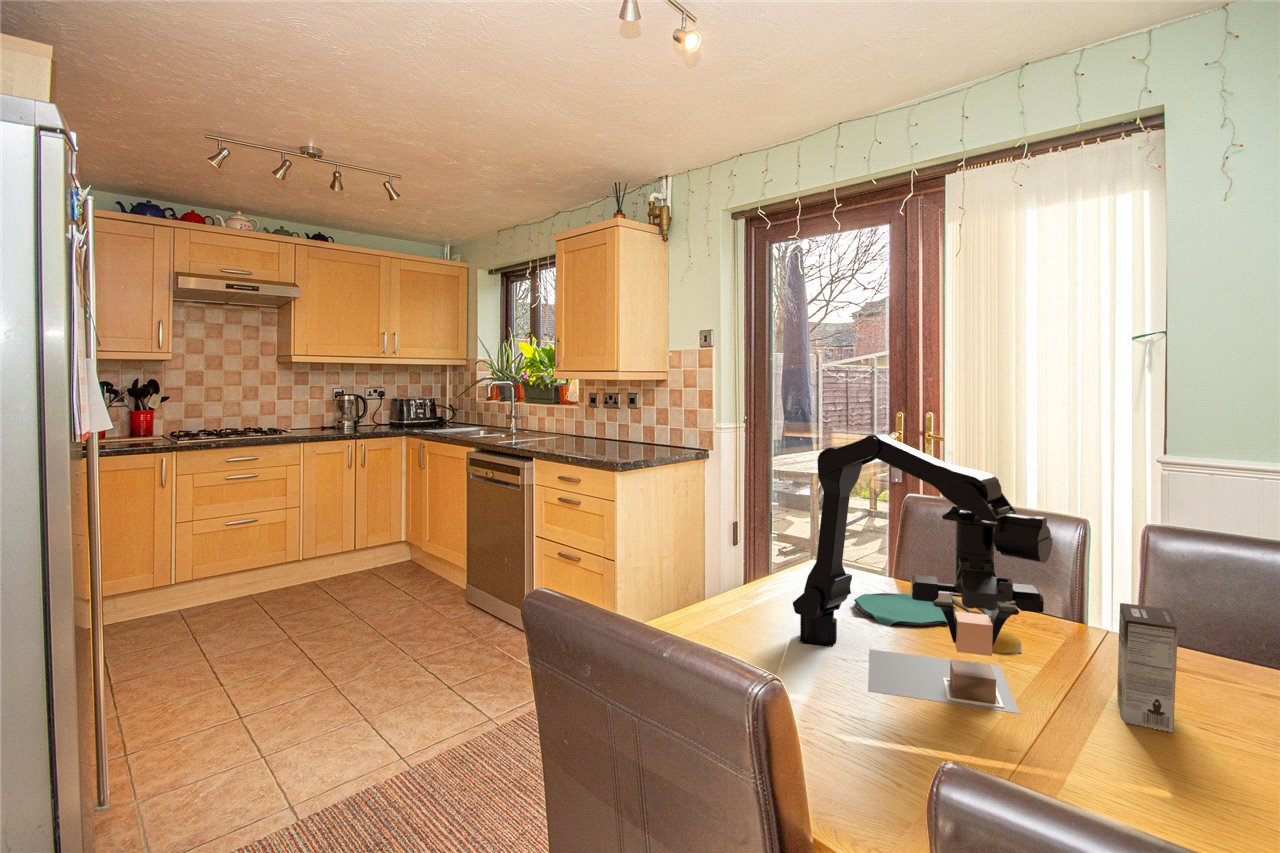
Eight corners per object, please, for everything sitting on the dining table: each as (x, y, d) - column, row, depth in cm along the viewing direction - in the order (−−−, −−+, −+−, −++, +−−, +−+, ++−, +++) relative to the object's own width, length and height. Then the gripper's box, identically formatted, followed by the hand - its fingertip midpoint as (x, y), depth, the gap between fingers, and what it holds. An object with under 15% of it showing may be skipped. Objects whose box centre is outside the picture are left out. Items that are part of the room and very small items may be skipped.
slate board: (868, 694, 106) (868, 689, 106) (869, 652, 123) (869, 648, 123) (1019, 717, 98) (1019, 712, 98) (999, 668, 115) (999, 664, 115)
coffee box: (1115, 697, 104) (1118, 601, 103) (1165, 707, 101) (1169, 608, 100) (1121, 723, 97) (1124, 618, 96) (1176, 734, 93) (1180, 626, 92)
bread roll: (1012, 661, 119) (1013, 640, 119) (962, 646, 126) (963, 626, 126) (1028, 648, 125) (1029, 628, 124) (980, 635, 131) (980, 616, 131)
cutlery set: (841, 601, 153) (842, 591, 153) (963, 599, 155) (963, 590, 155) (876, 633, 133) (877, 622, 133) (1015, 631, 135) (1016, 620, 135)
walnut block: (953, 698, 103) (954, 673, 103) (949, 682, 109) (950, 659, 109) (995, 704, 101) (996, 679, 101) (989, 687, 107) (990, 664, 107)
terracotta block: (957, 651, 103) (957, 621, 103) (953, 640, 108) (954, 611, 108) (992, 656, 102) (992, 625, 101) (987, 644, 106) (987, 614, 106)
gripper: (914, 557, 100) (912, 655, 101) (1054, 568, 93) (1050, 673, 94) (911, 541, 110) (909, 630, 111) (1036, 550, 103) (1033, 644, 104)
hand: (972, 644), depth 105 cm, fingers closed on terracotta block, 5 cm apart
